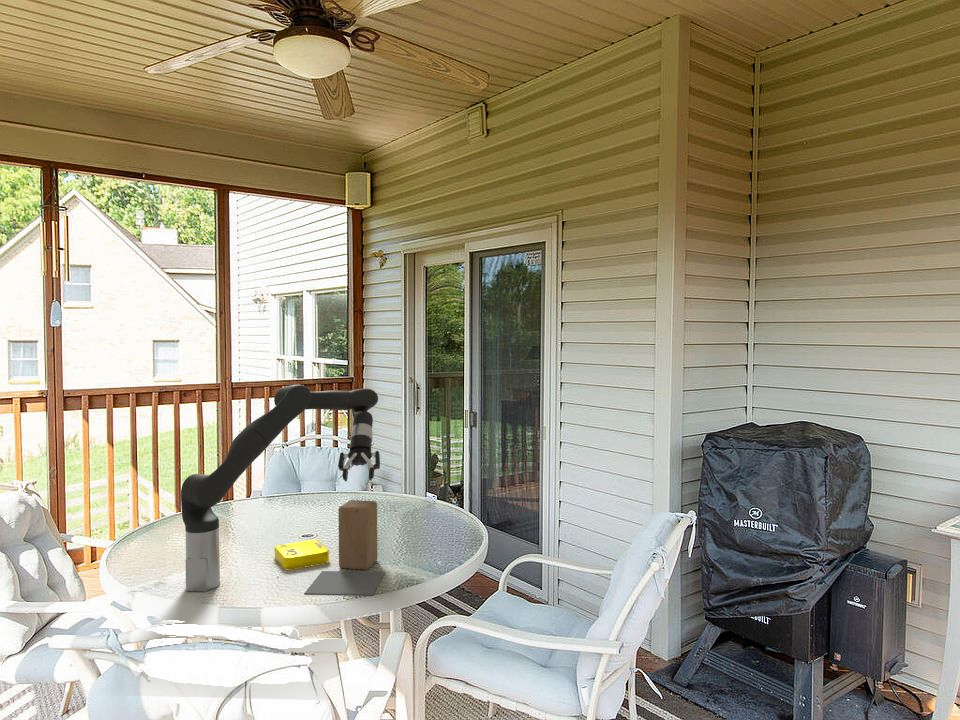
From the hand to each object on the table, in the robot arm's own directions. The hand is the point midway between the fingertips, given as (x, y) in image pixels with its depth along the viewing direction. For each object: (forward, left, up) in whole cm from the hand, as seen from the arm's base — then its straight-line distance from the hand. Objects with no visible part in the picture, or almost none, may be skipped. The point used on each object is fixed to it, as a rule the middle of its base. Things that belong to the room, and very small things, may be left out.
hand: (357, 479), depth 227 cm
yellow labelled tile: (-10, +17, -25) cm, 32 cm away
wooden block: (-13, -3, -25) cm, 29 cm away
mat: (-29, -3, -25) cm, 39 cm away
